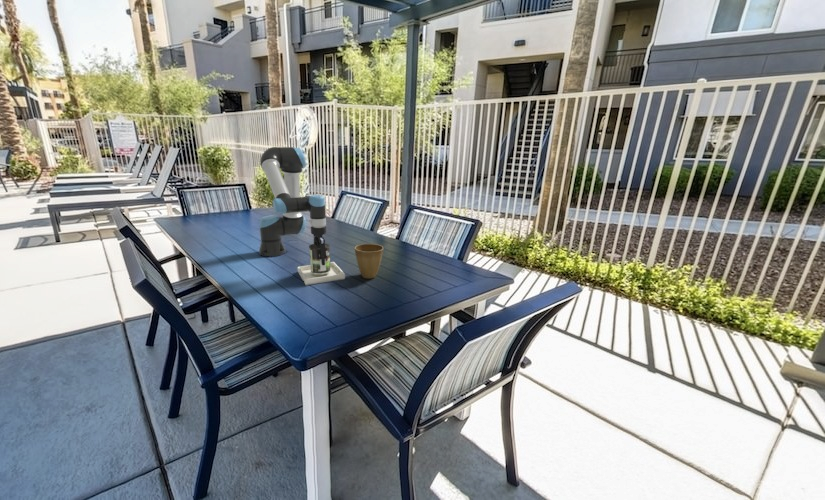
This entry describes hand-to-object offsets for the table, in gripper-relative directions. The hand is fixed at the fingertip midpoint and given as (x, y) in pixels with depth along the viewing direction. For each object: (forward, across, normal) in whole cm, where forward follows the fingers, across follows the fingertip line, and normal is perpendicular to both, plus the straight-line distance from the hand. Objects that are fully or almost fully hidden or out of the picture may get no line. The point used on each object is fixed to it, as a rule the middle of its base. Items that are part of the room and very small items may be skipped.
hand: (320, 267), depth 179 cm
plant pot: (+5, +11, +23) cm, 26 cm away
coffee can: (+3, 0, 0) cm, 3 cm away
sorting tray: (+5, 0, 0) cm, 5 cm away
